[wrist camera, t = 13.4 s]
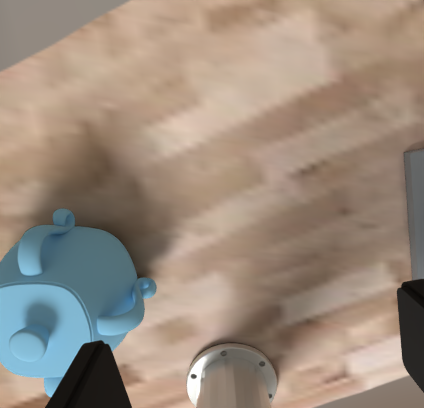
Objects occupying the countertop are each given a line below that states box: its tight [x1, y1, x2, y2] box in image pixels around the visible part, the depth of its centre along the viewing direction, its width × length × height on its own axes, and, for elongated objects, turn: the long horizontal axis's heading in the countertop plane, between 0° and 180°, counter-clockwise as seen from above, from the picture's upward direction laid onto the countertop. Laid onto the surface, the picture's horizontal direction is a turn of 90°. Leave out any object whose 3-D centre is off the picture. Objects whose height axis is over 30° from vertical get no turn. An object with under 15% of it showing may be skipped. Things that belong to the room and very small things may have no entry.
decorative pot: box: [0, 208, 157, 397], centre depth 34 cm, size 16×16×14 cm
